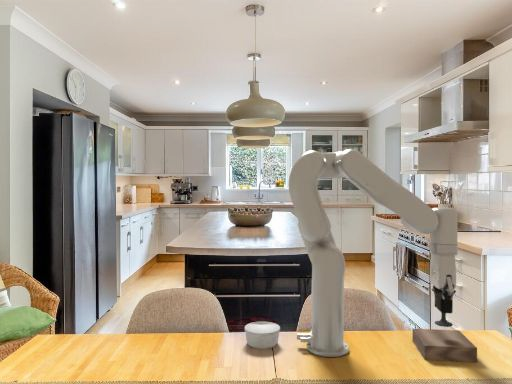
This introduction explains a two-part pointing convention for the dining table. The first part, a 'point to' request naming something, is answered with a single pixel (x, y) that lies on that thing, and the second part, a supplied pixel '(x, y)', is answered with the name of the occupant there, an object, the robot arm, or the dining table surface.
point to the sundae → (438, 296)
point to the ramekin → (262, 334)
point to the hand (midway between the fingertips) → (443, 309)
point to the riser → (444, 345)
